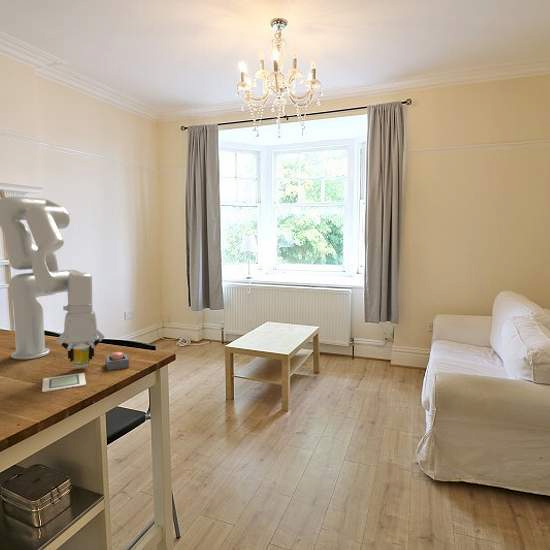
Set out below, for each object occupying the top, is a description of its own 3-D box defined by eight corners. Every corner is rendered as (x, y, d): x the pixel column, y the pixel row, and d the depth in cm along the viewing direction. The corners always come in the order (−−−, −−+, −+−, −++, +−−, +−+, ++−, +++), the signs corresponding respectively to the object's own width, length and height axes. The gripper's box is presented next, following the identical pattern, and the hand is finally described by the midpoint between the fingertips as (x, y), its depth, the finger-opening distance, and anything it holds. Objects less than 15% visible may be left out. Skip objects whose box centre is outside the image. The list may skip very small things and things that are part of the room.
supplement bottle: (82, 368, 136) (82, 340, 134) (69, 366, 137) (68, 339, 135) (93, 362, 141) (92, 336, 140) (79, 361, 142) (79, 334, 141)
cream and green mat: (43, 379, 129) (43, 378, 129) (84, 373, 135) (84, 372, 135) (42, 392, 119) (42, 390, 119) (86, 385, 125) (86, 383, 125)
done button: (110, 359, 143) (110, 352, 143) (122, 358, 145) (122, 351, 145) (111, 362, 140) (111, 356, 140) (123, 361, 142) (123, 354, 142)
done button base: (105, 364, 144) (105, 356, 144) (126, 361, 148) (126, 353, 147) (108, 370, 138) (107, 362, 138) (129, 367, 141) (128, 359, 141)
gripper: (51, 312, 129) (53, 366, 131) (108, 309, 137) (108, 359, 139) (51, 308, 135) (53, 358, 138) (106, 305, 143) (106, 353, 146)
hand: (81, 358), depth 139 cm, fingers closed on supplement bottle, 5 cm apart
